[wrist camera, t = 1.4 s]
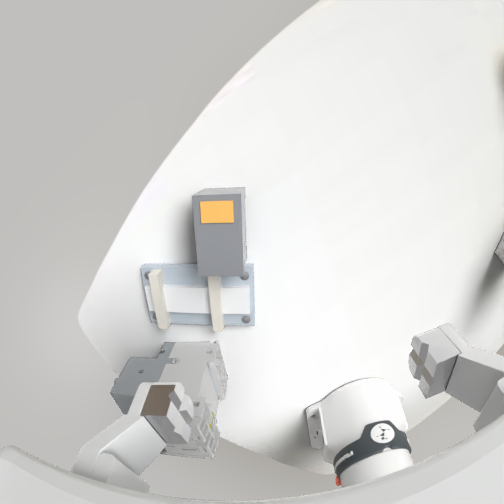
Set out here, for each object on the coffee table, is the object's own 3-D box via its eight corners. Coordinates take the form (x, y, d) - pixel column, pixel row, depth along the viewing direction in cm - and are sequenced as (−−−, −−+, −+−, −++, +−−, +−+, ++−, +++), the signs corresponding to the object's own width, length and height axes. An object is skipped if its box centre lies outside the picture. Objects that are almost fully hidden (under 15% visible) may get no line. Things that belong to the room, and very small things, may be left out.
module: (247, 255, 32) (243, 277, 27) (209, 255, 33) (198, 277, 27) (245, 187, 30) (241, 193, 24) (205, 188, 30) (191, 195, 24)
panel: (254, 320, 35) (254, 333, 33) (154, 317, 36) (146, 329, 33) (253, 263, 33) (252, 273, 30) (143, 263, 33) (134, 273, 30)
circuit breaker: (130, 342, 38) (87, 411, 24) (218, 340, 37) (199, 426, 23) (145, 376, 40) (114, 445, 26) (228, 377, 39) (216, 459, 25)
